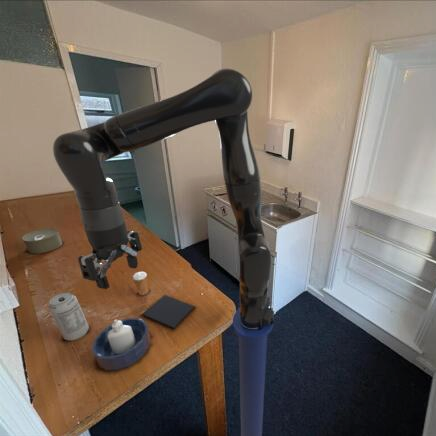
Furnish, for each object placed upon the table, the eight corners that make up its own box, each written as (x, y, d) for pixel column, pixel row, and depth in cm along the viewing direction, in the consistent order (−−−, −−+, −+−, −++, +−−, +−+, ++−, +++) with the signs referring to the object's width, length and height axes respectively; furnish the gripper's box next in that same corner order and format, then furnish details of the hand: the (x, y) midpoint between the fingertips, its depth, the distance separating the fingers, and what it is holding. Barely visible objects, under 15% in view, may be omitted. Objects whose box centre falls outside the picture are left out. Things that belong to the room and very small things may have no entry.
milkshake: (132, 296, 89) (126, 275, 85) (143, 287, 94) (138, 267, 89) (141, 299, 88) (136, 278, 84) (153, 289, 93) (148, 269, 89)
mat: (194, 307, 86) (194, 306, 86) (174, 329, 78) (173, 327, 78) (165, 296, 90) (164, 295, 90) (142, 315, 82) (141, 313, 81)
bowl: (160, 338, 74) (157, 326, 72) (120, 378, 63) (115, 366, 61) (129, 324, 78) (125, 312, 76) (86, 360, 67) (80, 347, 64)
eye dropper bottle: (120, 340, 72) (111, 313, 67) (138, 342, 72) (130, 314, 67) (110, 354, 68) (99, 326, 63) (129, 355, 68) (120, 327, 63)
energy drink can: (85, 322, 77) (70, 288, 71) (92, 332, 74) (77, 297, 68) (61, 334, 73) (43, 299, 66) (68, 345, 70) (50, 309, 63)
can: (65, 238, 120) (60, 226, 117) (60, 250, 111) (54, 237, 108) (32, 243, 114) (26, 231, 111) (24, 256, 105) (17, 243, 102)
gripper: (87, 239, 47) (107, 299, 54) (142, 213, 60) (152, 264, 66) (57, 232, 48) (80, 292, 55) (117, 208, 61) (130, 259, 68)
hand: (120, 276), depth 61 cm, fingers open, 8 cm apart
